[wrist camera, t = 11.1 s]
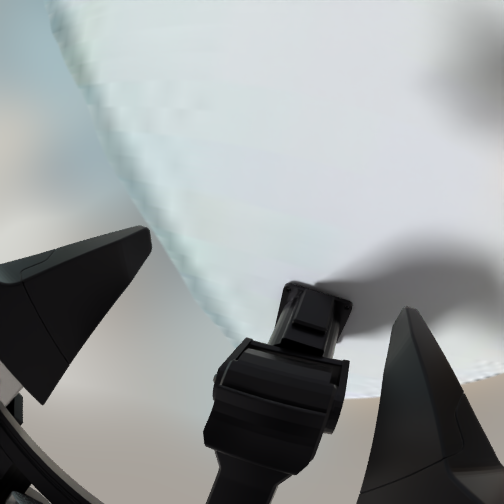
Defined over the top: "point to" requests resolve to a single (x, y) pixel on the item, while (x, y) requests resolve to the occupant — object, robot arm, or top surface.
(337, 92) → the top surface
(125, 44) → the top surface
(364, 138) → the top surface
